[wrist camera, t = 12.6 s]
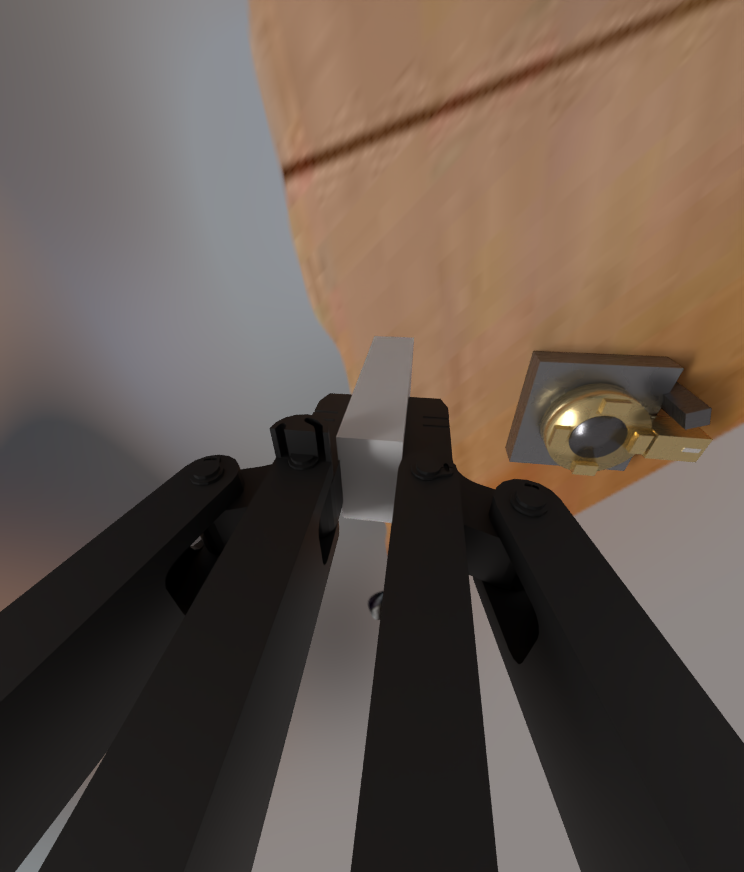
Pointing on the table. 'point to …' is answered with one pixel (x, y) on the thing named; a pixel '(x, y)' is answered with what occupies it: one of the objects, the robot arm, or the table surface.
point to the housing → (567, 371)
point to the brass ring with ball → (612, 431)
